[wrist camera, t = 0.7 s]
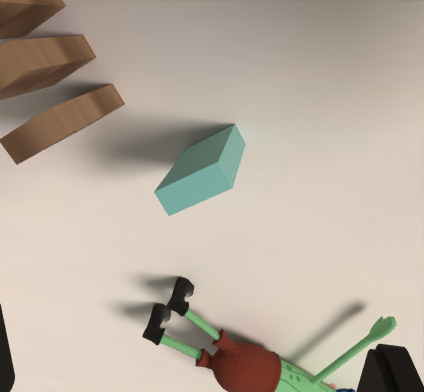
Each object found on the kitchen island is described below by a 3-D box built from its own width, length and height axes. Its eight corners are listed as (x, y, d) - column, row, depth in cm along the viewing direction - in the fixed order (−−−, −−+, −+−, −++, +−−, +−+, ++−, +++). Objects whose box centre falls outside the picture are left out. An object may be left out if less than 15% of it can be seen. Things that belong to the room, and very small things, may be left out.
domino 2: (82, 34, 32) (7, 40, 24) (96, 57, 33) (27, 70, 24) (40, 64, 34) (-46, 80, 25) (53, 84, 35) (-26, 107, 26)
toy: (109, 358, 49) (297, 456, 54) (86, 413, 42) (302, 519, 47) (240, 196, 37) (465, 344, 42) (236, 239, 30) (504, 407, 35)
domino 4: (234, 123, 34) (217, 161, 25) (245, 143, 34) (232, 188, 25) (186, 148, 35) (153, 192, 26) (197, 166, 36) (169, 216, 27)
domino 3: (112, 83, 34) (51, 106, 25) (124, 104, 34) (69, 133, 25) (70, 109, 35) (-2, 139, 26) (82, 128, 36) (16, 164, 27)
